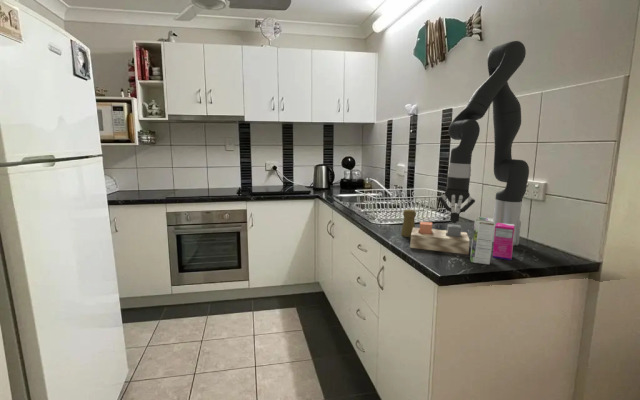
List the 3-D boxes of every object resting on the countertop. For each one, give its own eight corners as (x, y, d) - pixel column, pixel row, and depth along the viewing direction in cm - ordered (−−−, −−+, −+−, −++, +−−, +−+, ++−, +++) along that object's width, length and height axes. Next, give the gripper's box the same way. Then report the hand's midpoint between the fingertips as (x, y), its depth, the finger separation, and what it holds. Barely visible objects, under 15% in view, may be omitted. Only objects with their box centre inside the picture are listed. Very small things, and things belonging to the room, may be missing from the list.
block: (465, 244, 128) (466, 232, 127) (468, 254, 117) (469, 240, 116) (412, 239, 134) (412, 227, 133) (410, 247, 123) (411, 234, 122)
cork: (404, 232, 145) (406, 207, 143) (417, 235, 141) (419, 209, 139) (398, 235, 140) (400, 209, 138) (411, 237, 136) (413, 211, 134)
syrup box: (469, 257, 114) (473, 216, 111) (488, 259, 112) (493, 217, 109) (470, 262, 109) (475, 219, 106) (490, 265, 106) (495, 221, 104)
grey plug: (459, 238, 125) (460, 225, 124) (459, 241, 121) (461, 227, 120) (446, 236, 126) (447, 224, 125) (447, 239, 122) (448, 226, 121)
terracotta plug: (431, 235, 128) (432, 222, 127) (431, 238, 124) (432, 225, 123) (419, 233, 129) (420, 221, 128) (419, 236, 125) (419, 223, 124)
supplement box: (493, 252, 119) (496, 222, 117) (512, 256, 116) (516, 224, 114) (491, 257, 114) (495, 225, 112) (511, 260, 111) (515, 227, 109)
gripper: (477, 176, 121) (472, 222, 124) (439, 174, 125) (435, 218, 128) (480, 178, 114) (474, 226, 117) (439, 175, 118) (435, 222, 121)
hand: (454, 222), depth 122 cm, fingers closed
